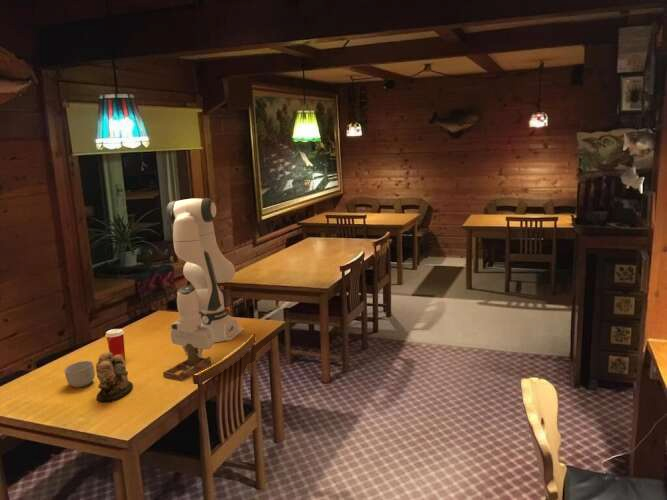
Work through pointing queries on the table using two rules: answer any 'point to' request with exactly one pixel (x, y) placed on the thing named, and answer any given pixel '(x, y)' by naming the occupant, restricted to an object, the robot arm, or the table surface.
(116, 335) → the paper cup
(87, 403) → the table surface
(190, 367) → the wooden divided frame
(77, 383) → the teacup
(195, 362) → the cork
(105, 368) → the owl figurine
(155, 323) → the table surface
